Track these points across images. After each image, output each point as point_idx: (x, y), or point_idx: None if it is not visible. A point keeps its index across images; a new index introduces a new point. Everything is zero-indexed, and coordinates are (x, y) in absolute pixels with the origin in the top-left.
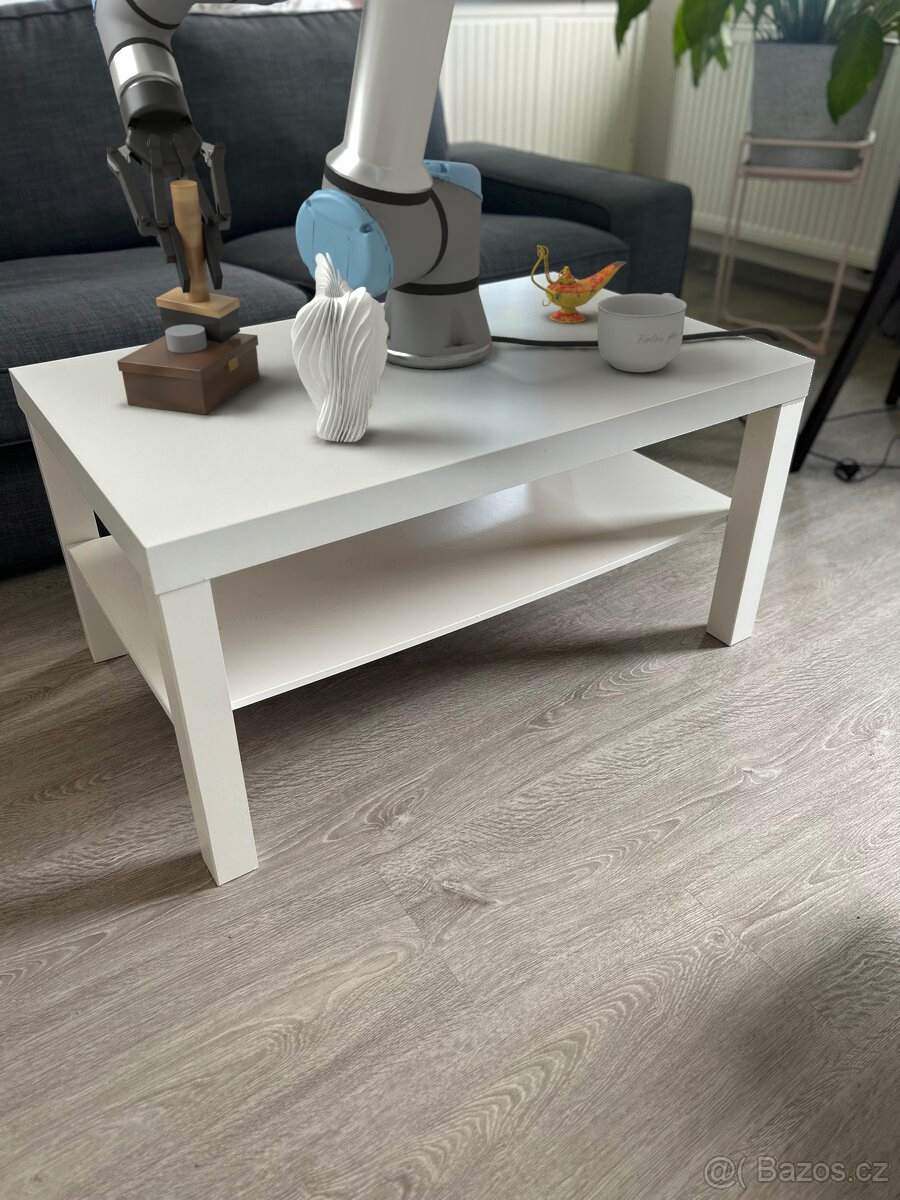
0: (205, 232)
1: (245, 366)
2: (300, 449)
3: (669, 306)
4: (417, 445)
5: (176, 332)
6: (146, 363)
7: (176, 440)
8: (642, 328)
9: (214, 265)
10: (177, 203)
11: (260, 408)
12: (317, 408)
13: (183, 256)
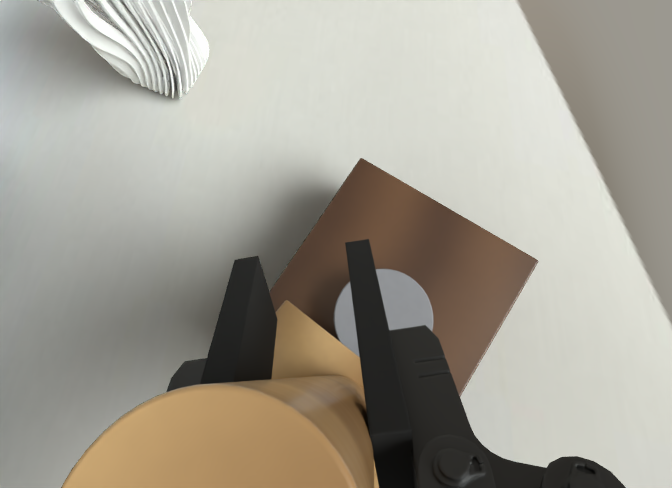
0: None
1: None
2: (242, 42)
3: None
4: None
5: (404, 300)
6: (471, 225)
7: (412, 106)
8: None
9: (248, 281)
10: (334, 409)
11: (271, 205)
12: (189, 45)
13: (357, 299)
